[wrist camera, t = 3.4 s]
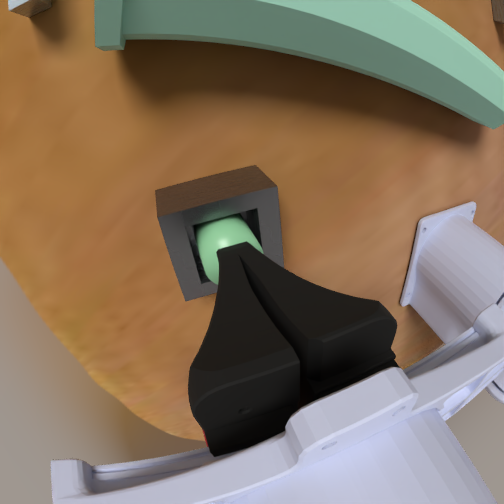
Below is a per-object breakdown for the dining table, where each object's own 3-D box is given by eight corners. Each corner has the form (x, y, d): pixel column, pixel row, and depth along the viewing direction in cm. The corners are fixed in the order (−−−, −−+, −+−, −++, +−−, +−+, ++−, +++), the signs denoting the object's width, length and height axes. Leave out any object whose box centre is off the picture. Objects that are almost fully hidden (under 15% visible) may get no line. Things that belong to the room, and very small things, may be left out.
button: (247, 242, 17) (266, 276, 14) (199, 256, 16) (211, 293, 14) (240, 199, 15) (260, 228, 13) (188, 212, 15) (198, 245, 12)
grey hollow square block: (264, 242, 18) (284, 271, 16) (178, 266, 18) (185, 301, 15) (255, 165, 16) (277, 186, 13) (155, 190, 15) (157, 217, 12)
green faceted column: (542, 99, 12) (110, -92, 3) (503, 156, 16) (90, 78, 8) (489, 55, 15) (131, -75, 6) (457, 108, 19) (113, 33, 11)
